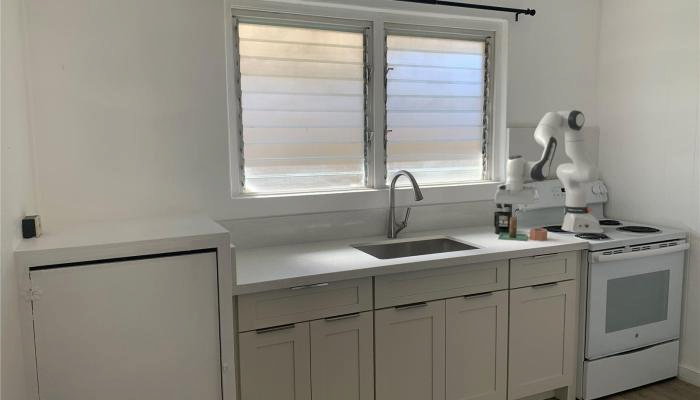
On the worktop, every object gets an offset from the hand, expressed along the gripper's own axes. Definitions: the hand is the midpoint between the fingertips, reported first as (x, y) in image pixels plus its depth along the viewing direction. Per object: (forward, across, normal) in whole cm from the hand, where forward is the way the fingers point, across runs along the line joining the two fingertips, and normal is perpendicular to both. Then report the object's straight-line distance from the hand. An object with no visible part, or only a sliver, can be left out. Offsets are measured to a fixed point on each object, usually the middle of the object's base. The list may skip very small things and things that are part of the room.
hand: (514, 212), depth 284 cm
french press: (+15, +7, -16) cm, 23 cm away
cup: (+15, -13, 0) cm, 20 cm away
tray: (+15, 0, 0) cm, 15 cm away
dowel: (+14, 0, 0) cm, 14 cm away
